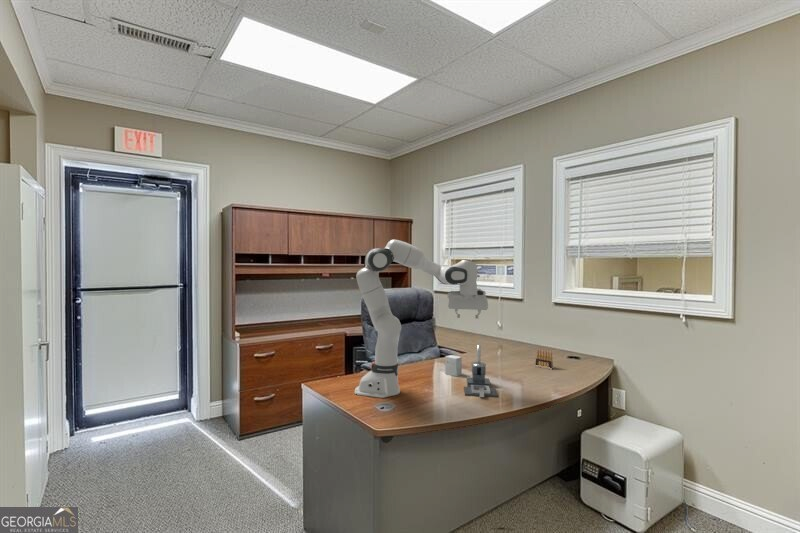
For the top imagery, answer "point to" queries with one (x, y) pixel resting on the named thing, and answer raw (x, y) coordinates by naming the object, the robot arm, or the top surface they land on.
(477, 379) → the vise
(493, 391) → the pad
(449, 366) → the small box
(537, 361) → the ammunition clip
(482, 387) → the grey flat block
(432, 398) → the top surface
